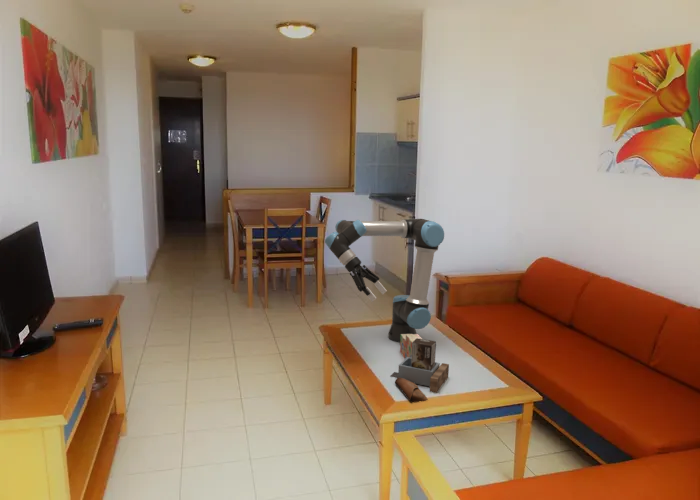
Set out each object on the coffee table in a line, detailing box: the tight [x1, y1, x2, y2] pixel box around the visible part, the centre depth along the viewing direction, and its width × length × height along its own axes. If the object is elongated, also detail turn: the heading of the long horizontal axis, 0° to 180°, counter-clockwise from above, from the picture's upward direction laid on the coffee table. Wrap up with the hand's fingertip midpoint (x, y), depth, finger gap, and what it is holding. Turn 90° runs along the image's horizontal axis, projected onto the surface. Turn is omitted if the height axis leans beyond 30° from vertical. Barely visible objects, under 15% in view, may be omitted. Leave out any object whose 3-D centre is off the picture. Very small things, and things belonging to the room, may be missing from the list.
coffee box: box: [411, 338, 437, 371], centre depth 234 cm, size 9×6×16 cm
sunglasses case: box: [394, 378, 429, 404], centre depth 224 cm, size 18×7×7 cm
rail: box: [390, 371, 398, 379], centre depth 238 cm, size 5×20×1 cm, turn 65°
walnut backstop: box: [429, 362, 450, 394], centre depth 233 cm, size 18×3×6 cm, turn 155°
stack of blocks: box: [399, 333, 423, 360], centre depth 259 cm, size 21×6×12 cm, turn 10°
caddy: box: [397, 357, 441, 388], centre depth 236 cm, size 11×15×7 cm
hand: (379, 296), depth 250 cm, fingers open, 13 cm apart
